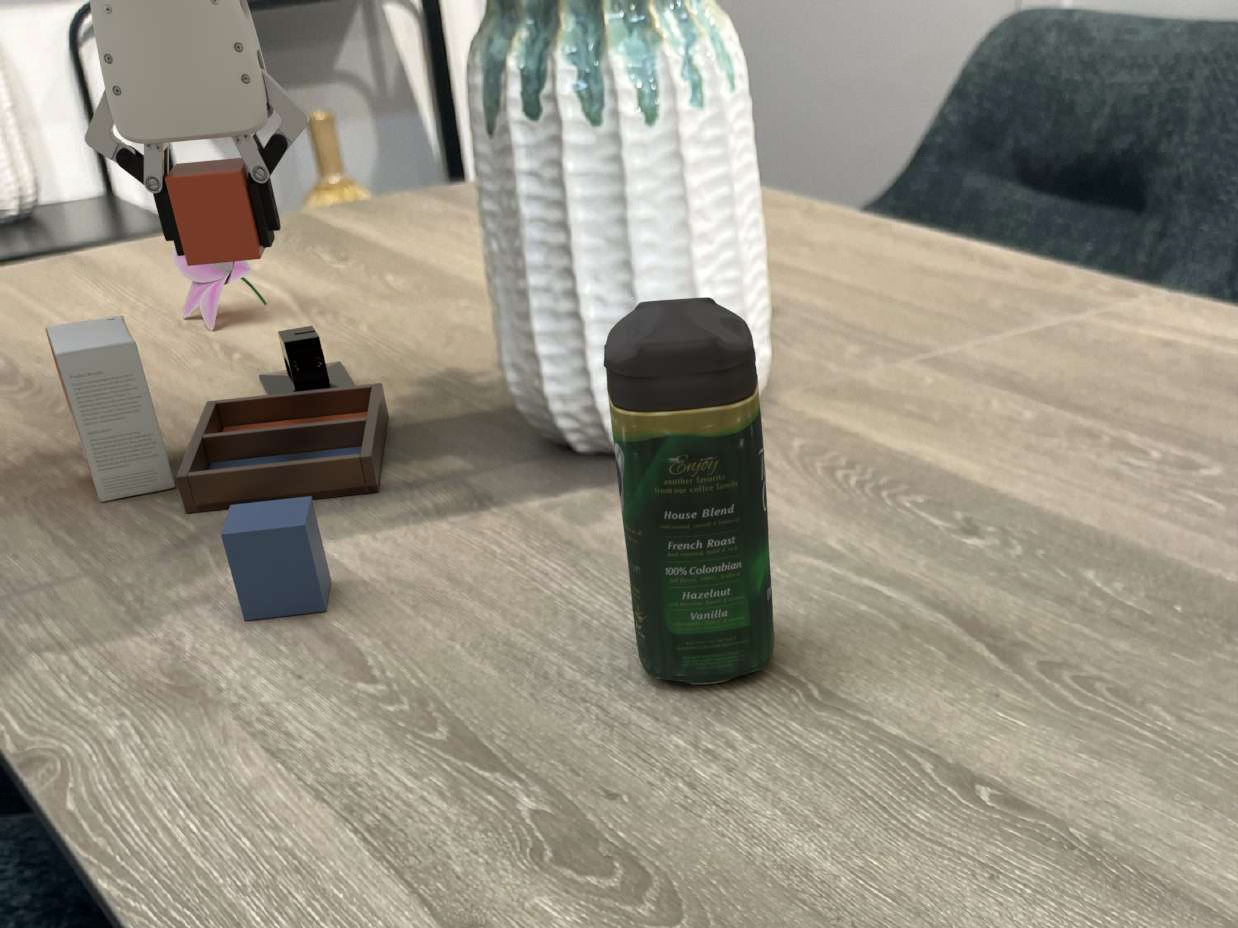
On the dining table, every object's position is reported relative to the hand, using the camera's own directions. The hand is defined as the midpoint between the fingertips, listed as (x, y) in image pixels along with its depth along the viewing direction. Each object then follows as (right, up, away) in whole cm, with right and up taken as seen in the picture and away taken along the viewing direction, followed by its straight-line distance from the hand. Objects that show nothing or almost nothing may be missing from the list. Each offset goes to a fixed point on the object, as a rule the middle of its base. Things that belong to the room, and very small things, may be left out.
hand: (226, 244), depth 119 cm
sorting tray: (+2, -12, +9) cm, 15 cm away
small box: (-10, -14, +9) cm, 19 cm away
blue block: (+8, -28, -12) cm, 31 cm away
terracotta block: (0, -1, 0) cm, 1 cm away
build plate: (-1, -1, +24) cm, 24 cm away
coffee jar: (+35, -34, -21) cm, 53 cm away
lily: (-15, +14, +45) cm, 49 cm away
